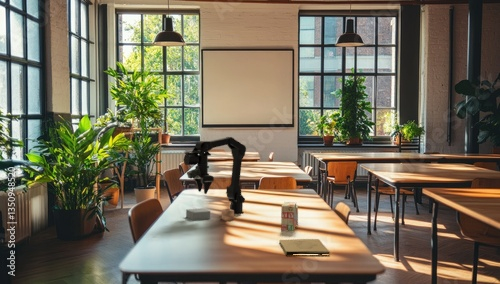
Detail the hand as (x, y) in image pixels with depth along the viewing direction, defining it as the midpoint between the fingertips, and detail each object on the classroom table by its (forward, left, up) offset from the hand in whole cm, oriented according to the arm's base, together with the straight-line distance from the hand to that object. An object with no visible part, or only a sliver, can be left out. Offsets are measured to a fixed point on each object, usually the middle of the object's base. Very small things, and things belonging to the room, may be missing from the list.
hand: (202, 192), depth 271 cm
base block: (+3, +1, -13) cm, 14 cm away
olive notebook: (-12, +81, -14) cm, 83 cm away
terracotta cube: (-10, +11, -14) cm, 20 cm away
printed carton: (-31, +40, -14) cm, 53 cm away
